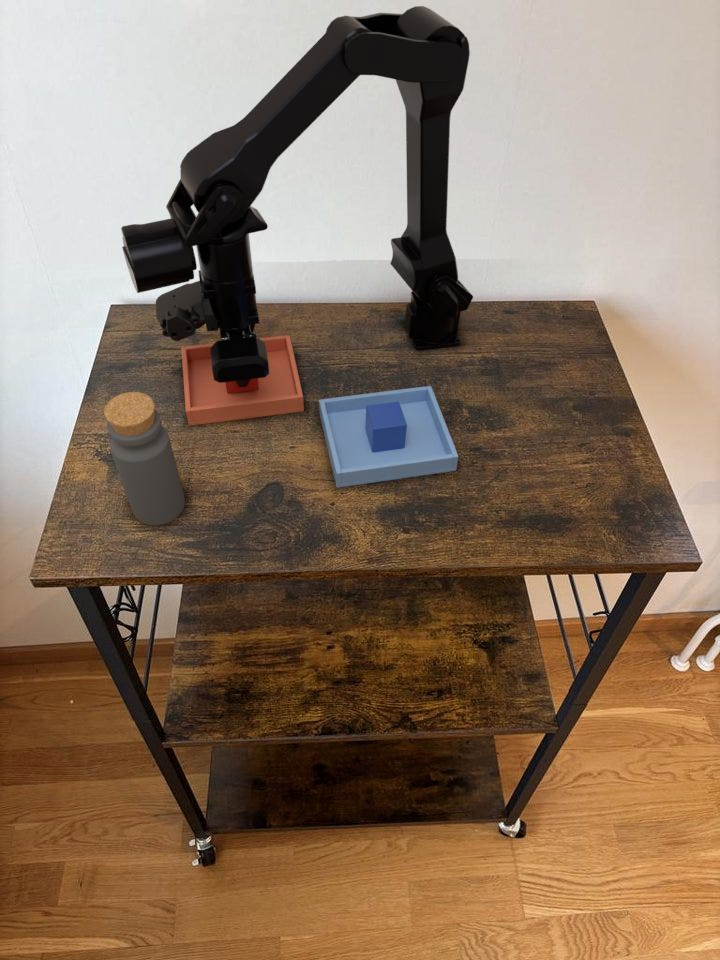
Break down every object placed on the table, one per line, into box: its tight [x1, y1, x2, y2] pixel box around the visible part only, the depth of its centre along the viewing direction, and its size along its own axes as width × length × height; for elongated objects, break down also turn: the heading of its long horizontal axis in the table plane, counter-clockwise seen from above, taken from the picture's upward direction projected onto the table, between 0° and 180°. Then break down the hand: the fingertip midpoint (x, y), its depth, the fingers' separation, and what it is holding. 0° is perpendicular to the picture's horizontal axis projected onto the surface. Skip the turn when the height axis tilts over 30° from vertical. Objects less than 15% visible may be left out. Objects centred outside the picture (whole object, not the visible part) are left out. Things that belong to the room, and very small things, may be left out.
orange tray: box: [181, 334, 305, 427], centre depth 93 cm, size 14×12×2 cm
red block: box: [225, 378, 259, 393], centre depth 92 cm, size 4×4×4 cm
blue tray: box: [318, 385, 459, 488], centre depth 87 cm, size 14×12×2 cm
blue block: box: [365, 402, 407, 453], centre depth 87 cm, size 4×4×4 cm
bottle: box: [103, 391, 186, 527], centre depth 76 cm, size 6×6×15 cm
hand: (241, 375), depth 93 cm, fingers closed on red block, 4 cm apart
